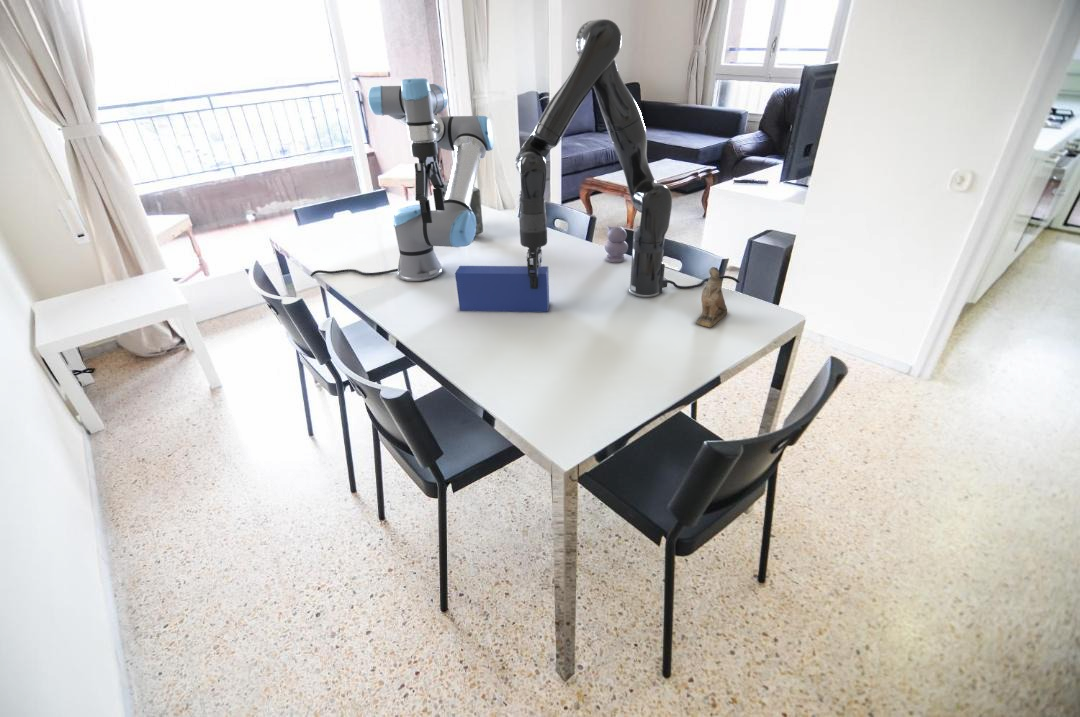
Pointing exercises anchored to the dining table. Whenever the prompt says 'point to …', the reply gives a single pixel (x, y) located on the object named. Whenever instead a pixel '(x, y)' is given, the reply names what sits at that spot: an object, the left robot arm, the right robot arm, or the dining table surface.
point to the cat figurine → (616, 244)
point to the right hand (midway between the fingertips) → (535, 283)
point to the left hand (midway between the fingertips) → (434, 216)
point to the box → (501, 289)
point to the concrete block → (471, 206)
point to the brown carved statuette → (712, 301)
